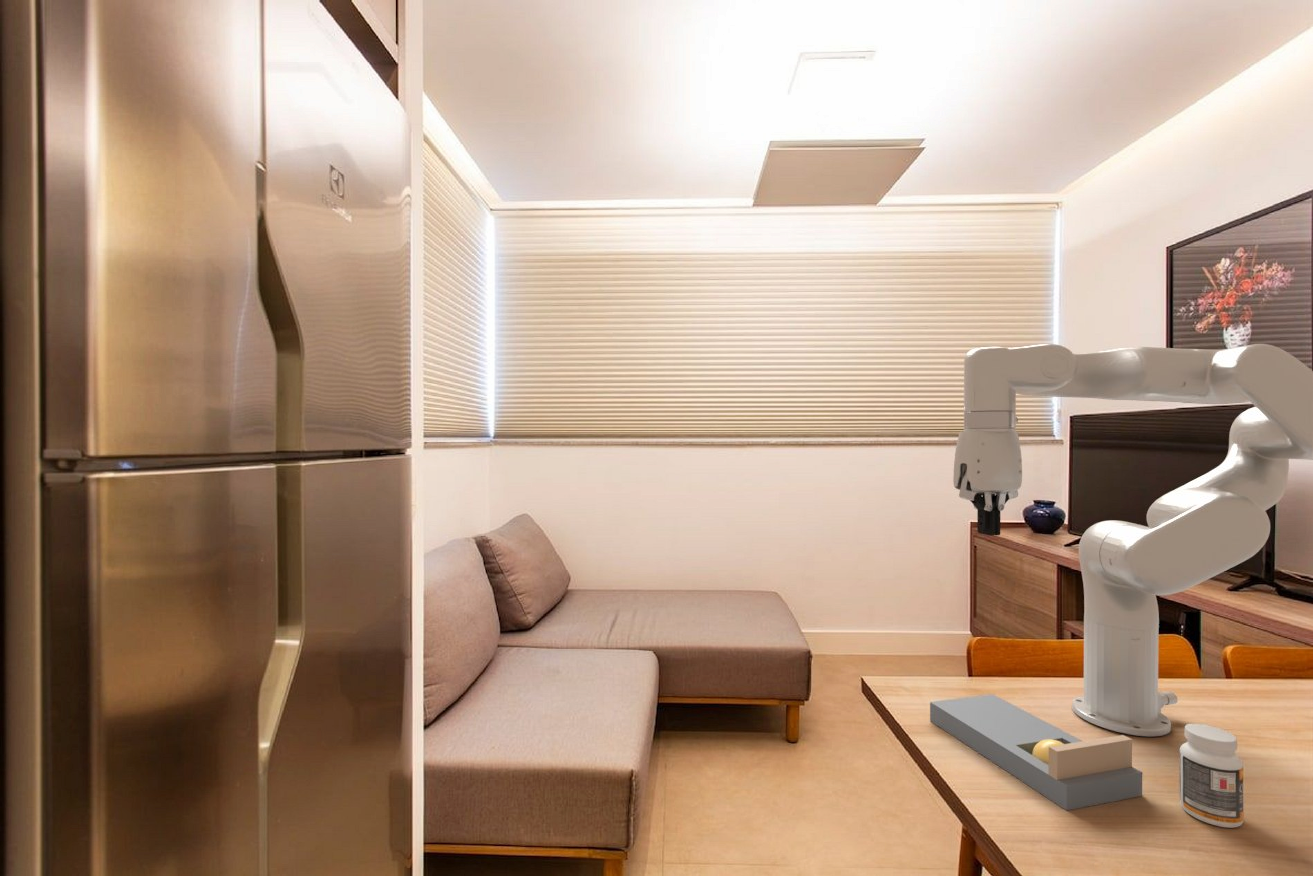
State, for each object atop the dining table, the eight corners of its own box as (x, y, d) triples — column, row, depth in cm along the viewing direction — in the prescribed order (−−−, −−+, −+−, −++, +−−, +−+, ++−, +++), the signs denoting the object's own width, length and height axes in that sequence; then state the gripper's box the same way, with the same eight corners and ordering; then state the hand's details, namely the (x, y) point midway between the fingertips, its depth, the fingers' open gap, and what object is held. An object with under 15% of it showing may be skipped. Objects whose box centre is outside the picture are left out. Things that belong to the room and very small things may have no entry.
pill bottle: (1256, 833, 70) (1257, 746, 70) (1198, 826, 71) (1199, 741, 71) (1221, 804, 76) (1222, 723, 76) (1168, 798, 77) (1168, 719, 77)
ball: (1088, 788, 78) (1054, 777, 83) (1086, 746, 80) (1052, 737, 84) (1056, 785, 77) (1023, 774, 82) (1054, 742, 79) (1022, 733, 83)
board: (992, 712, 100) (992, 672, 100) (1142, 795, 77) (1142, 744, 77) (930, 720, 97) (930, 680, 97) (1066, 810, 74) (1066, 757, 74)
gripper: (1008, 423, 107) (1007, 529, 107) (935, 423, 103) (934, 532, 103) (1045, 423, 99) (1044, 536, 99) (968, 422, 96) (967, 539, 96)
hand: (988, 534), depth 101 cm, fingers closed
